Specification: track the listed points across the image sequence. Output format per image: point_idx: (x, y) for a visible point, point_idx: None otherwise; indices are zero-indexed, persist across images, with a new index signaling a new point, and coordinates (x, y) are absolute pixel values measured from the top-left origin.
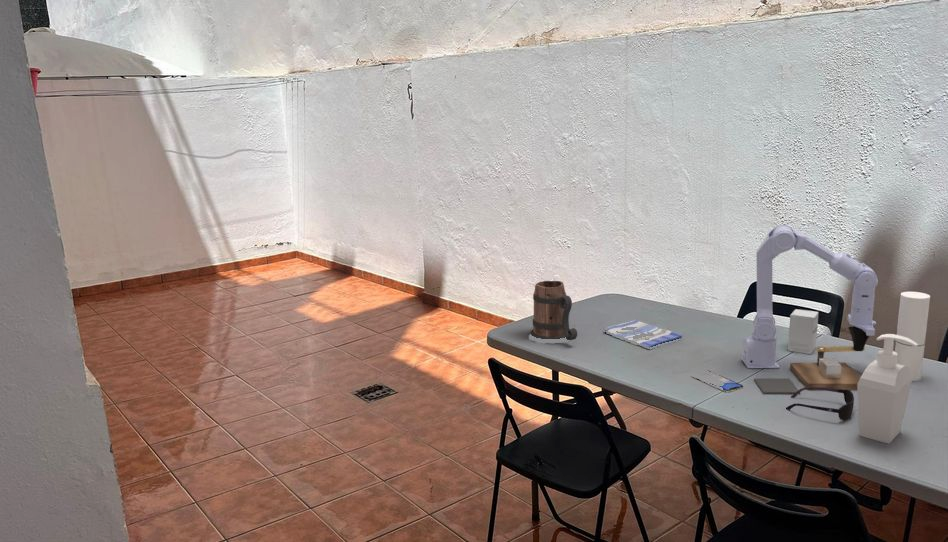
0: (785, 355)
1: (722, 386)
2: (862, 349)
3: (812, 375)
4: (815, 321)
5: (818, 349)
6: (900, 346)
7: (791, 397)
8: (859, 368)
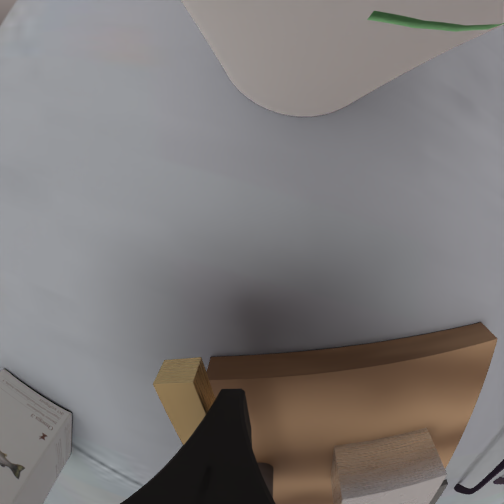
0: (117, 473)
1: None
2: (243, 402)
3: None
4: None
5: None
6: (470, 39)
7: (456, 487)
8: (190, 282)
